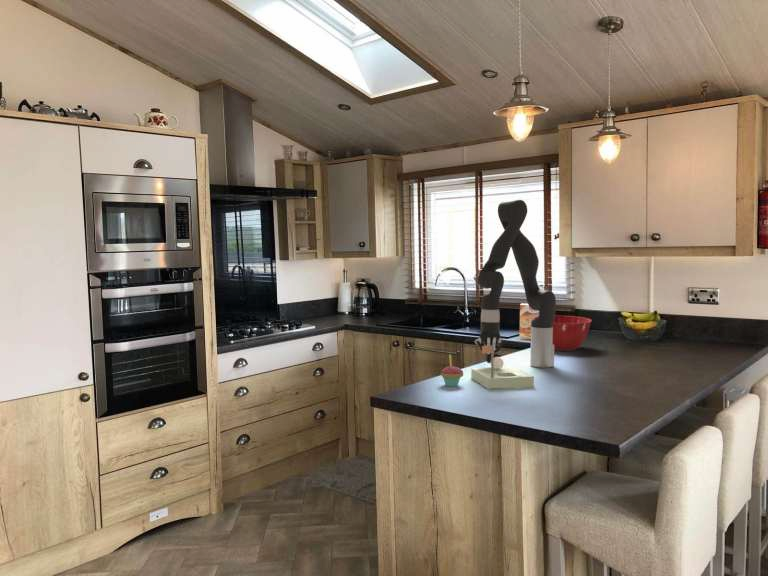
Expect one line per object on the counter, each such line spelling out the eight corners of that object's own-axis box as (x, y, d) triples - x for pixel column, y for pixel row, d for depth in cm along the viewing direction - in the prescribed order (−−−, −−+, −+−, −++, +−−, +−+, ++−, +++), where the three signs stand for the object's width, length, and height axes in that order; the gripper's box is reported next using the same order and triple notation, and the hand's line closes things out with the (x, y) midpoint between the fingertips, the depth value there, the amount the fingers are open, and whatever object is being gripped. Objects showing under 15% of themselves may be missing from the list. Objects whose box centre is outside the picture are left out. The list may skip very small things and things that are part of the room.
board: (513, 376, 253) (514, 337, 251) (533, 387, 234) (534, 344, 233) (466, 378, 249) (466, 338, 248) (482, 389, 230) (483, 346, 229)
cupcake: (436, 383, 240) (437, 352, 239) (456, 381, 243) (457, 351, 242) (447, 388, 232) (447, 356, 231) (467, 386, 235) (467, 354, 234)
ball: (500, 368, 249) (500, 355, 249) (505, 370, 244) (505, 357, 244) (488, 368, 248) (488, 356, 248) (493, 371, 243) (493, 358, 243)
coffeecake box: (519, 339, 350) (519, 304, 348) (520, 337, 356) (520, 303, 355) (546, 340, 345) (547, 305, 344) (547, 338, 352) (548, 304, 351)
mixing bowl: (598, 354, 303) (599, 322, 302) (539, 353, 304) (540, 322, 303) (581, 344, 331) (582, 315, 330) (527, 344, 332) (527, 315, 331)
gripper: (502, 319, 258) (501, 360, 259) (471, 319, 255) (471, 361, 256) (509, 321, 250) (508, 364, 251) (477, 321, 248) (477, 365, 249)
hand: (489, 362), depth 254 cm, fingers closed
